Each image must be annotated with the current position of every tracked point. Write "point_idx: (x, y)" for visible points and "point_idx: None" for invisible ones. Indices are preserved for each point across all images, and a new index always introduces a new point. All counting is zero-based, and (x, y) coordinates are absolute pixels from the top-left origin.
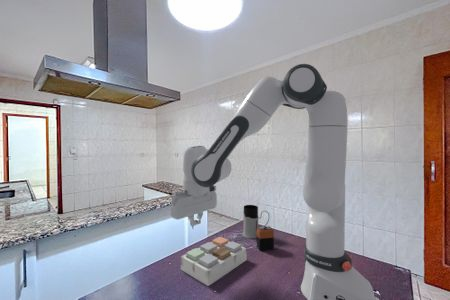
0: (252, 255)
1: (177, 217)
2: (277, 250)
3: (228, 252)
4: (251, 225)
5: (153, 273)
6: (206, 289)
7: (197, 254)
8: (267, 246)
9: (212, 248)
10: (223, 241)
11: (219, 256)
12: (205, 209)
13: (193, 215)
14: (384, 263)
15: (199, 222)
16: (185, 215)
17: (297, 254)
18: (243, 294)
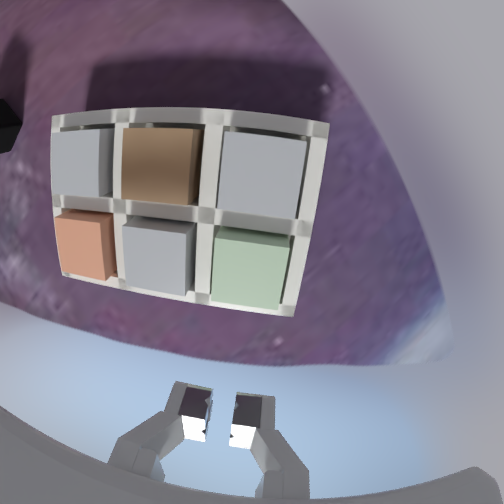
0: None
1: (490, 477)
2: (2, 87)
3: (139, 128)
4: None
5: (352, 338)
6: (336, 121)
7: (261, 252)
8: (2, 109)
9: (157, 229)
10: (77, 226)
11: (193, 146)
12: (72, 466)
13: (269, 489)
14: None
15: (188, 392)
16: (420, 501)
17: (4, 36)
18: (277, 2)
